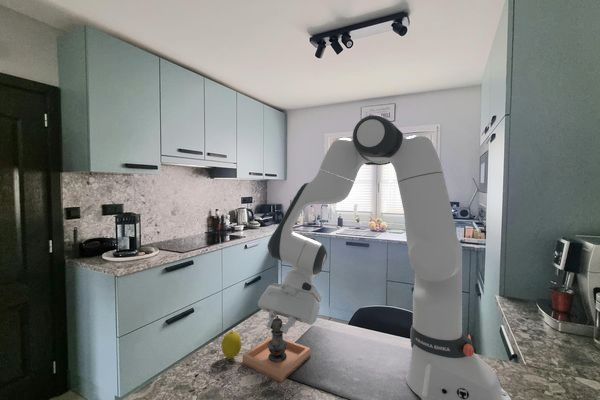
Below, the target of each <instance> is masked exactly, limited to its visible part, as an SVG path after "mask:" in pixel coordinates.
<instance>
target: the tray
mask: <svg viewBox="0 0 600 400" xmlns="http://www.w3.org/2000/svg"><path fill="white" fill-rule="evenodd" d="M271 340H272V336H271V337H268V338H267V339H266V340H263V342H261V343H259V344H257V345H256V346H254V347H253V348H252V349H250V350H249V351H247V352H245V353H244V354H242V364H243V365H245V366H247V367H249V368H251V369H253V370H255V371H257V372H259V373H260V374H263V375H265V376H267V377H269V378H272V379H274V380H275V381H277V382H280V383H282V382H284V380H286V379H287V378H288V377H289V376H290V375H292V373H295V371H296V370H297V369H299V368H300V366H302V365H303V364H304V363H305V362H306V361H307V360H308V359H310V358H311V347H308V346H305V345H303V344H300V343H297V342H294V341H291V340H290V339H286V338H284V337H283V340H285V341H286V342H287V344H288V345H287V348H286V350H285V353H286V355H287V357H286V359H285V360H283V361H280V362H273V361H271V360H270V359H269V354H270V351H269V348H268V346H267V344H268V343H269V342H270V341H271ZM305 360H306V361H305ZM304 361H305V362H304ZM303 362H304V363H303ZM302 363H303V364H302Z"/></svg>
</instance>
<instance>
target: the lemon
mask: <svg viewBox="0 0 600 400" xmlns="http://www.w3.org/2000/svg"><path fill="white" fill-rule="evenodd" d="M241 339H242V338H241V337H240V335H239V333H237V332H236V331H233V330H231V331H229V332H227V333H226V334H225V335H224V336H223V338H222V341H221V351H222V354H223V355H224V357H225V358H229V359H231V360H233V359H234V358H235V357H236V356H238V355H239V353H240V351H241V349H242V340H241Z"/></svg>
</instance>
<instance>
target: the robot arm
mask: <svg viewBox="0 0 600 400" xmlns="http://www.w3.org/2000/svg"><path fill="white" fill-rule="evenodd" d="M389 164H391V165H392V166H393V168H394V172H395V174H396V180H397V184H398V190H399V194H400V199H401V204H402V208H403V215H404V225H405V226H404V227H405V235H406V236H405V237H406V243H407V245H406V246H407V251H408V252H407V253H408V260H409V264H410V267H411V268H412V270H413V272H414V284H413V291H412V292H413V293H412V323H411V325H410V327H411V328H410V347H411V353H410V360H409V361H410V362H409V366H408V369H407V372H406V376H405V381H406V384H407V386H408V387H409V388H410V390H412V391H413V393H414V394H415V395H417V396H418V397H419V398H420V400H512V398H511V396H510V395H509V394H508V392H507V391H506V390H505V389H503V387H501V384H500V381H499V378H498V376H497V374H496V372H495V371H494V369H493V368H492V367H491V366H490V365H488V364H487V362H485V361H484V360H483V359H481V357H479V356H478V355H477V354H476V353H475V352H474V346H473V341H472V340H471V335H470V334H468V336H467V335H466V334H465V333H464V332H463V246H462V243H461V241H460V240H459V238H458V235H457V234H458V233H457V230H456V226H455V225H456V224H455V220H454V214H453V212H452V205H451V201H450V196H449V191H448V187H447V183H446V179H445V176H444V170H443V167H442V164H441V159H440V158H439V154H438V153H437V150H436V148H435V146H434V144H433V142H432V140H431V139H430V138H428V137H426V136H423V135H411V136H407V137H404V135H403V132H402V131H401V130H400V129H399V128H398V127H397V126H396V125H395V124H394V123H393V122H392V121H391V120H390V119H388V118H386V117H384V116H382V115H378V114H373V115H372V114H371V115H368V116H364V117H363V118H361V119H360V120H359V121H358V122H357V123H356V125H355V126H354V127H353V132H352V138H348V137H342V138H337V139H335V140H333V141H332V142H331V144H330V146H329V148H328V150H327V151H326V153H325V155H324V157H323V159H322V162H321V164H320V167H319V170H318V172H317V174H316V176H315V177H314V178H313V179H312V180H310V182H305V183H304V184H302V185H301V187H300V188H299V189H298V190H297V192H296V194H295V196H294V197H293V199H292V201H291V202H290V204H289V205H288V208H287V209H286V211H285V213H284V215H283V216H282V219H281V220H280V222H279V224H278V226H277V227H276V229H275V230H274V232H273V233H272V234H271V236H270V238H269V239H268V243H267V247H266V248H267V250H268V252H269V255H270V256H271V257H272V259H276V260H279V261H281V262H286V264H289V265H291V268H290V269H289V270H288V272H287V274H286V276H285V278H284V279H283V282H282V283H277V282H273V283H271V284H269V285H268V286H267V288H266V289H265V290H264V292H263V293H262V295H261V296H260V298H259V299H258V301H257V306H258V308H259V309H260V310H262V311H264V312H267V313H268V322H267V324H266V327H267V328H268V329H269V330H272V322H273V320H274V319H275V318H277V316H280V317H283V318H286V319H288V321H287V322H286V323H285V324H282V326H281V328H280V331H281V332H282V333H283V334H285V335H286V334H288V332H289V329H290V328H291V327H293V326H294V325H295V323H296V322H300V323H304V324H307V325H309V326H310V325H311V326H312V325H313V324H315V323H316V321H317V318H318V315H319V311H320V308H321V306H320V303H321V302H322V299H323V297H322V295H321V293H320V291H319V290H318V289H317V288H316V286H315V285H313V280H314V278H315V277H316V275H319V274H320V273H322V269H323V266H324V264H325V262H326V261H327V257H328V252H327V250H326V247H325V245H324V244H323V243H321V242H320V241H317V240H315V239H312V238H309V237H307V236H305V235H302V234H300V233H298V232H295V231H294V230H293V228H294V226H295V225H296V223H297V221H298V219H299V217H300V216H301V214H302V212H303V210H304V209H305V208H306V207H307V206H310V205H332V204H333V205H334V204H337V203H341V202H343V201H344V200H346V198H348V196H349V195H350V192H351V191H352V188H353V186H354V184H355V182H356V179H357V175H358V174H359V171H360V169H361V167H362V166H363V165H366V166H384V165H389Z"/></svg>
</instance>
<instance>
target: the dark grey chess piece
mask: <svg viewBox="0 0 600 400" xmlns="http://www.w3.org/2000/svg"><path fill="white" fill-rule="evenodd" d="M282 325H283V320H282V319H281V318H280V317H279V315H277V316H276V318H275V317H274V320H273V322H272V329H271V330H270V333H271V337H272V340H271V341H270V342H269V343H268V344H267V346H268V348H269V351H270V354H269V359H270V360H271V361H273V362H280V361H283V360H285V359H286V357H287V355H286V353H285V350H286V348H287V345H288V344H287V342H286V341H285V340H283V338H284V337H283V336H284V335H283V334H284V333H282V332H281V331H280V328H281V326H282Z"/></svg>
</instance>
